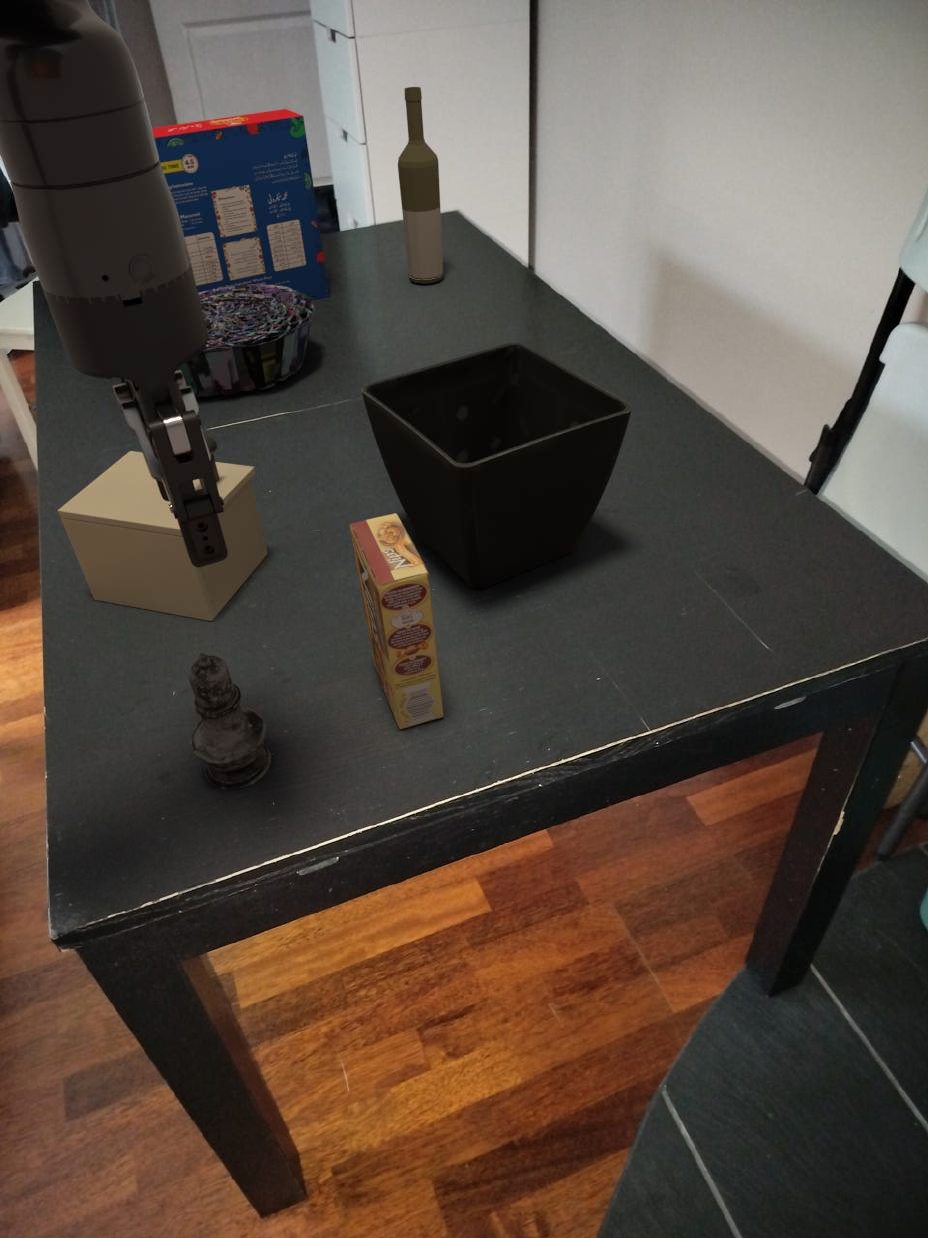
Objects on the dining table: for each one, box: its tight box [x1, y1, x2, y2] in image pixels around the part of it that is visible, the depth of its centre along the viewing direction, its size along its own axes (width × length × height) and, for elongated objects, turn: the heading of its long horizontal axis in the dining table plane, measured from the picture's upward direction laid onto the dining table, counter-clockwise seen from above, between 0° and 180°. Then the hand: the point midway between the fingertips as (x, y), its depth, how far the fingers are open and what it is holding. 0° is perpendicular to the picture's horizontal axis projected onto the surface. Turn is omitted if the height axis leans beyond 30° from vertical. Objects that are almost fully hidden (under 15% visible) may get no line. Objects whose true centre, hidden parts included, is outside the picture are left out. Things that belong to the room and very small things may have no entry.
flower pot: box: [360, 341, 633, 589], centre depth 85 cm, size 19×19×17 cm
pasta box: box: [152, 108, 330, 301], centre depth 141 cm, size 28×8×28 cm, turn 119°
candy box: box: [349, 512, 444, 730], centre depth 69 cm, size 9×4×15 cm, turn 20°
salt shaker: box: [187, 652, 272, 791], centre depth 65 cm, size 6×6×12 cm
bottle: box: [397, 86, 444, 285], centre depth 146 cm, size 7×7×30 cm
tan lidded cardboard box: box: [60, 479, 269, 622], centre depth 86 cm, size 14×12×10 cm
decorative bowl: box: [176, 284, 316, 399], centre depth 126 cm, size 26×28×10 cm
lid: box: [57, 434, 257, 536], centre depth 81 cm, size 14×12×5 cm
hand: (194, 527), depth 55 cm, fingers open, 8 cm apart
